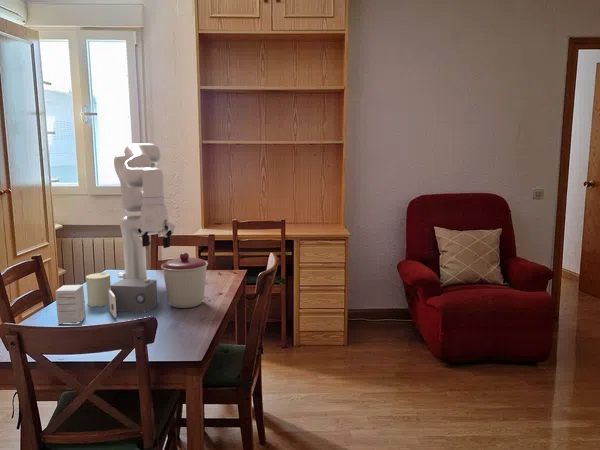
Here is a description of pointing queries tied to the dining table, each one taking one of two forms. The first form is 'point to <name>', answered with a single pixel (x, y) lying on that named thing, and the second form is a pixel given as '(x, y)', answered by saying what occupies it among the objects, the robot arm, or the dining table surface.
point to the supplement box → (70, 304)
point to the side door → (112, 303)
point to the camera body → (135, 294)
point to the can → (98, 289)
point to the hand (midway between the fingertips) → (156, 246)
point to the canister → (185, 281)
